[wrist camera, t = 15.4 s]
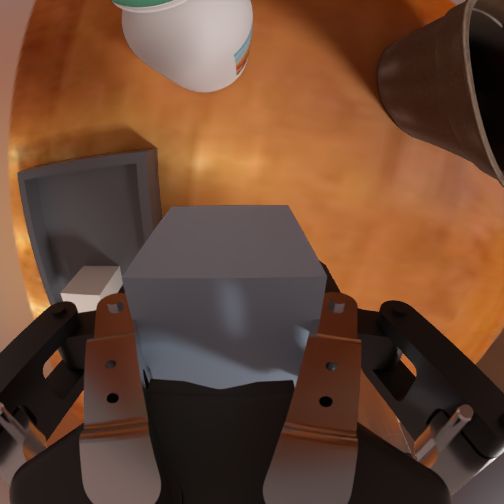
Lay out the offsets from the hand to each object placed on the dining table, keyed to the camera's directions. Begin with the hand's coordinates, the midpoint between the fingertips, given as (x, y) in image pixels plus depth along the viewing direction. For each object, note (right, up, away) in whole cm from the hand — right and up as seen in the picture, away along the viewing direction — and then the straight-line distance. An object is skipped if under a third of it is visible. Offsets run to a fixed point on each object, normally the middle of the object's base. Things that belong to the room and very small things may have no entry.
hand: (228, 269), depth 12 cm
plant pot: (+20, +19, +12) cm, 30 cm away
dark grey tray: (-16, +2, +18) cm, 24 cm away
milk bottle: (-3, +19, +10) cm, 22 cm away
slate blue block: (0, 0, +1) cm, 1 cm away
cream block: (-16, -3, +19) cm, 25 cm away
